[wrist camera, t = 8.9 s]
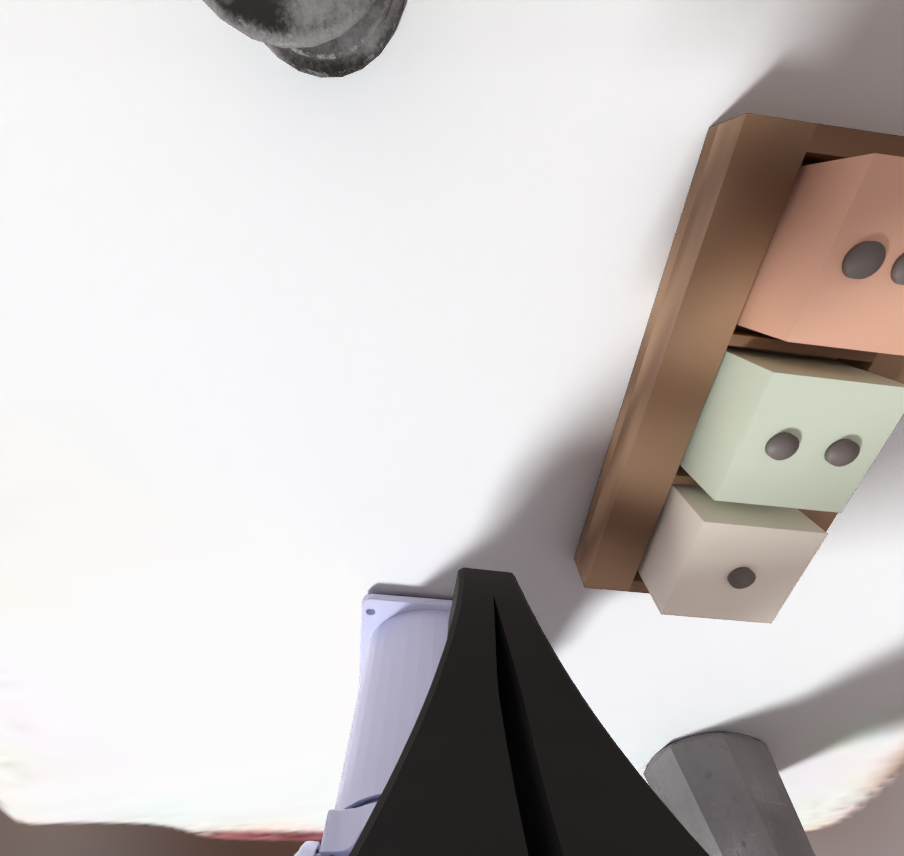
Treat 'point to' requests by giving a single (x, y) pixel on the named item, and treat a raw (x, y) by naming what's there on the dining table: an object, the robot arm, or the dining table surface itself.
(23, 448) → the dining table surface
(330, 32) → the salt shaker
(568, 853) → the robot arm
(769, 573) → the beige block
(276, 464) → the dining table surface
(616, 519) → the board
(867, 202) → the peach block
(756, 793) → the coffeepot
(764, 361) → the pale green knobbed block
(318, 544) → the dining table surface
